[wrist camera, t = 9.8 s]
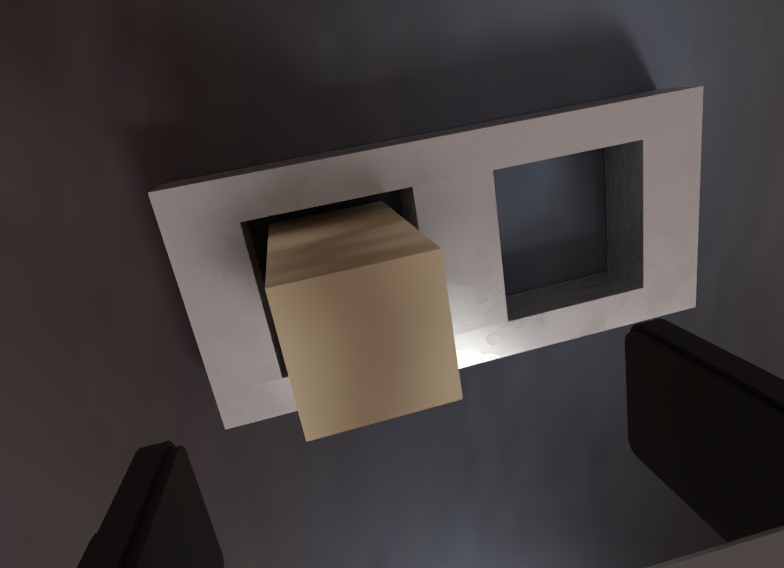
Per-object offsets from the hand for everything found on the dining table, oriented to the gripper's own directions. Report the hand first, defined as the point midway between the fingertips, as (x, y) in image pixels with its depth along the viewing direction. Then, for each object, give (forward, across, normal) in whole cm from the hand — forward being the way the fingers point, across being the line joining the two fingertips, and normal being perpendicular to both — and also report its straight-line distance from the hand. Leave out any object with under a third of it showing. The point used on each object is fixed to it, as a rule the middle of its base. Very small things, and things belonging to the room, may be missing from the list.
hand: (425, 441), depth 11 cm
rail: (+12, -4, -1) cm, 12 cm away
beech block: (+12, +1, -1) cm, 12 cm away
